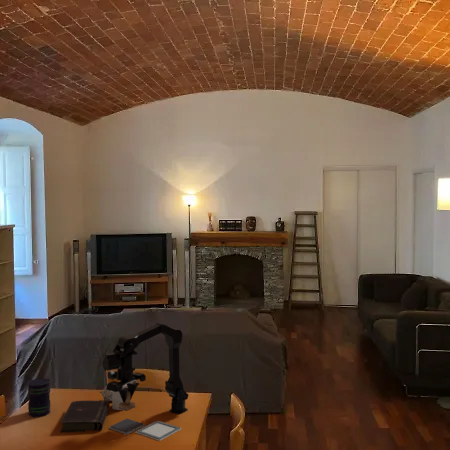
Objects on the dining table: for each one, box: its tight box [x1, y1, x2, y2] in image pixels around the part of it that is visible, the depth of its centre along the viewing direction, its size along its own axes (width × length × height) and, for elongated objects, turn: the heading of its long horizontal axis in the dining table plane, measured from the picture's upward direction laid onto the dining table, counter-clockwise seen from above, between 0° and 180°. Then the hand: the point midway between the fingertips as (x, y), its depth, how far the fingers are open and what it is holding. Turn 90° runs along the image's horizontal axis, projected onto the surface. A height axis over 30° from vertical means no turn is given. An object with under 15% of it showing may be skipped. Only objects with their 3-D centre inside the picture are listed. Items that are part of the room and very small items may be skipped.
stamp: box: [119, 391, 136, 412], centre depth 231 cm, size 5×5×7 cm
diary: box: [59, 400, 110, 434], centre depth 239 cm, size 19×25×5 cm
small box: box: [111, 385, 128, 411], centre depth 254 cm, size 8×6×10 cm
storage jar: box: [27, 377, 52, 418], centre depth 247 cm, size 10×10×15 cm
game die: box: [99, 383, 112, 402], centre depth 262 cm, size 9×8×10 cm
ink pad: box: [108, 418, 146, 435], centre depth 231 cm, size 11×11×1 cm
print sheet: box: [134, 420, 182, 441], centre depth 228 cm, size 14×14×1 cm
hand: (126, 401), depth 231 cm, fingers closed on stamp, 3 cm apart
